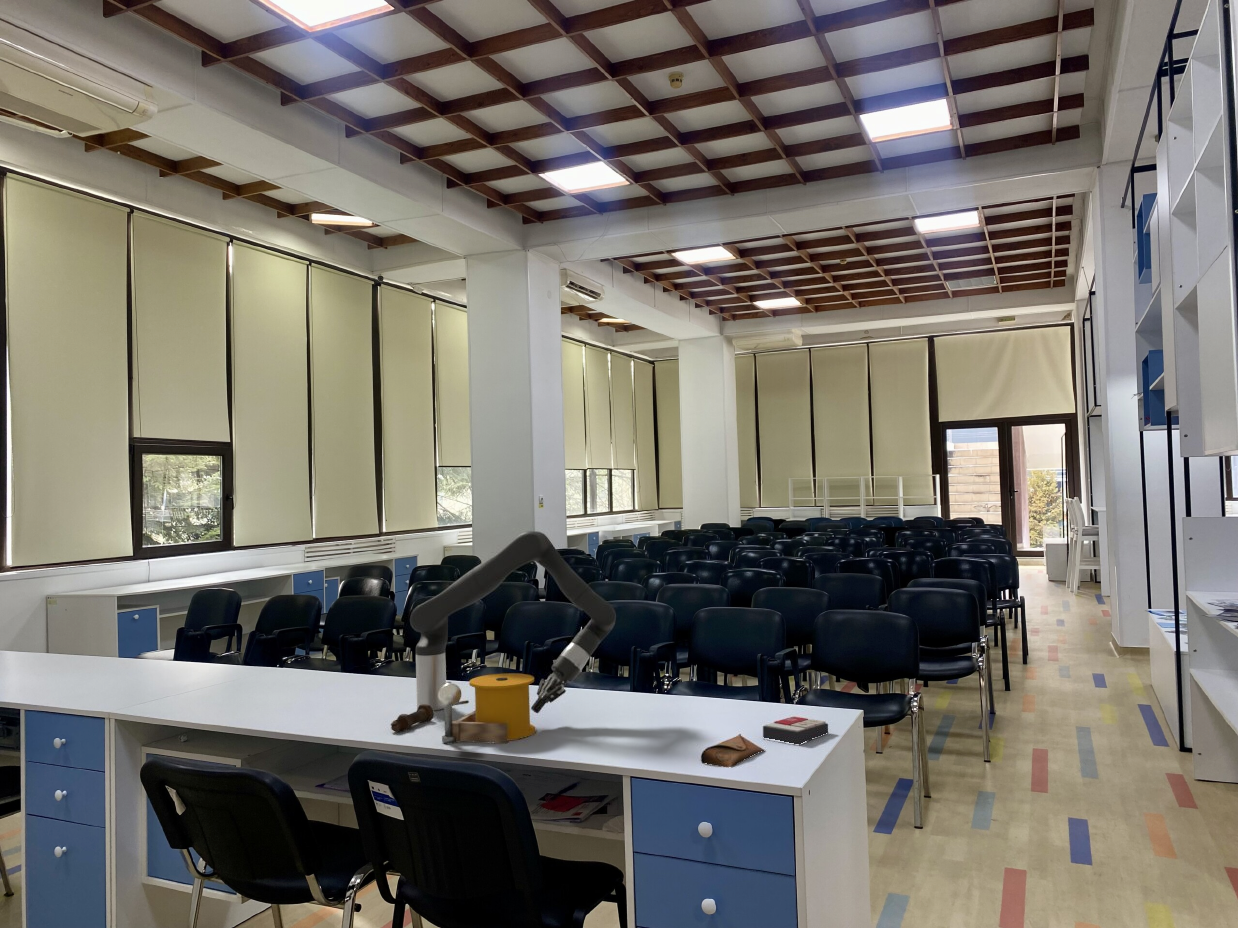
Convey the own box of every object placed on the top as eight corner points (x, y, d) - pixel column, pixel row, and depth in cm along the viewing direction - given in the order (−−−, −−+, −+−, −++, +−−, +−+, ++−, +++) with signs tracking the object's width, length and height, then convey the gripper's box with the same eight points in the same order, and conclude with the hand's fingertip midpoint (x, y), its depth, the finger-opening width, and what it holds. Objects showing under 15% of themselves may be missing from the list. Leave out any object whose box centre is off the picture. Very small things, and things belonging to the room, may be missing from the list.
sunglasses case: (731, 768, 209) (717, 741, 212) (709, 779, 213) (696, 753, 215) (767, 749, 224) (754, 725, 226) (746, 760, 227) (734, 736, 229)
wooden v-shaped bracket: (464, 750, 232) (463, 731, 232) (437, 733, 251) (437, 715, 251) (508, 742, 238) (508, 723, 239) (479, 726, 257) (479, 709, 257)
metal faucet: (441, 745, 238) (439, 685, 238) (436, 742, 241) (434, 682, 242) (472, 740, 242) (471, 680, 243) (467, 737, 246) (465, 678, 247)
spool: (481, 724, 259) (480, 672, 260) (542, 724, 257) (540, 672, 258) (461, 741, 242) (460, 685, 242) (526, 741, 239) (525, 685, 240)
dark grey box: (828, 720, 238) (798, 729, 227) (829, 736, 238) (798, 746, 227) (793, 714, 246) (762, 723, 235) (793, 730, 245) (762, 739, 234)
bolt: (392, 739, 253) (425, 725, 267) (404, 732, 252) (436, 717, 265) (383, 721, 255) (416, 707, 268) (395, 713, 253) (428, 700, 267)
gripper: (552, 651, 265) (515, 699, 259) (572, 657, 254) (535, 707, 247) (568, 667, 268) (533, 714, 261) (589, 673, 256) (553, 723, 250)
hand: (534, 710), depth 254 cm, fingers closed
